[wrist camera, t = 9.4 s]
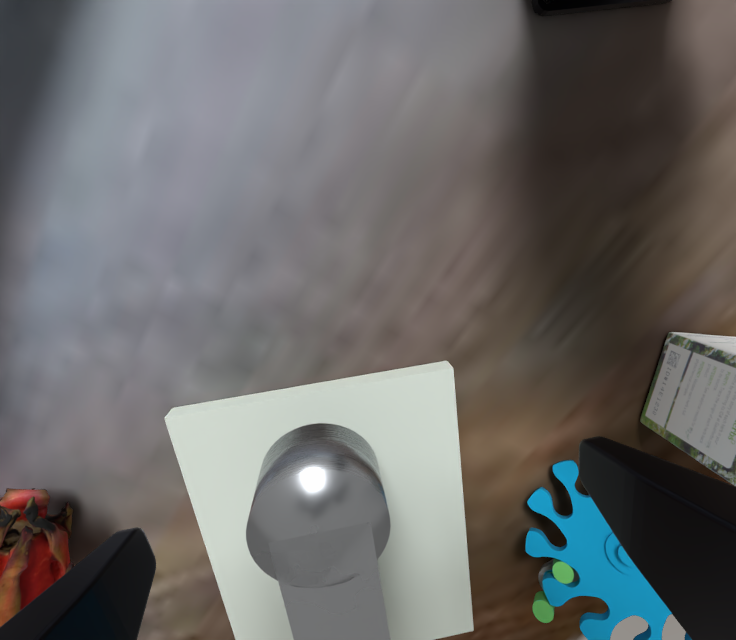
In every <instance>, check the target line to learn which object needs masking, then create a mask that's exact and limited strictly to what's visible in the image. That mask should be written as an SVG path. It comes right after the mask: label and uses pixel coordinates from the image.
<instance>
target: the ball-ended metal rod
mask: <svg viewBox="0 0 736 640" xmlns="http://www.w3.org/2000/svg"><path fill="white" fill-rule="evenodd" d="M390 527H391V524H390V515H389V511H388V506H387V502H386V497H385V493H384V488H383V484H382V479H381V475H380V470H379V466H378V461H377V458H376V455H375V453H374V451H373V449H372V447H371V446H370V445H369V443H368V442H367V441H366V440H365V439H364V438H363V437H362V436H360V435H359V434H358V433H356V432H354V431H353V430H351V429H349V428H346V427H343V426H340V425H335V424H328V423H317V424H309V425H305V426H301V427H299V428H296V429H294V430H292V431H290V432H288V433H286V434H285V435H283V436H282V437H280V438H279V439H278V440H277V441H276V442H275V443H274V444H273V445H272V446H271V447H270V449H269V450H268V452H267V453H266V455H265V457H264V459H263V462H262V465H261V469H260V473H259V477H258V481H257V485H256V489H255V493H254V497H253V501H252V505H251V509H250V513H249V517H248V521H247V527H246V541H247V546H248V549H249V552H250V555H251V556H252V558H253V560H254V561H255V563H256V564H257V565H258V566H259V568H260V569H262V570H263V571H264V572H265V573H266V574H267V575H269V576H270V577H272V578H274V579H275V580H277V581H278V582H279V586H280V590H281V594H282V597H283V601H284V605H285V609H286V612H287V616H288V620H289V624H290V627H291V631H292V635H293V639H294V640H391V638H390V632H389V626H388V620H387V614H386V608H385V602H384V596H383V590H382V584H381V578H380V572H379V566H378V560H377V559H378V558H379V557H380V556H381V554H382V552H383V551H384V549H385V547H386V544H387V542H388V539H389V535H390Z"/></svg>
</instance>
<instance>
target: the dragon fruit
mask: <svg viewBox="0 0 736 640" xmlns="http://www.w3.org/2000/svg"><path fill="white" fill-rule="evenodd" d="M31 489H32V488H31ZM49 499H50V496H49V495H48V492H47V491H46V490H34V489H32V490H26V489H7V490H6V493H5V495H4V497H2V498H0V627H1V626H2V625H3V624H5V623H6V622H7V621H8V620H9V619H11V618H12V617H13V616H14V615H16V614H17V613H18V612H19V611H20V610H22V609H23V608H24V607H25V606H27V605H28V604H29V603H30V602H32V601H33V600H34V599H35V598H36V597H38V596H39V595H40V594H41V593H43V592H44V591H45V590H46V589H47V588H49V587H50V586H51V585H52V584H54V583H55V582H56V581H57V580H58V579H60V578H61V577H62V576H63V575H65V574H66V573H67V572H68V571H69V570H71V569H72V568H73V567H74V563H73V562H70V556H69V549H68V539H69V538H70V536H71V534H72V531H71V525H72V513H73V509H71V507H70V505H69V503H68V502H67V503H66V506H65V508H63V509H62V511H61V513H59V514H57V515H50V514H47V505H48V503H49Z"/></svg>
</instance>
